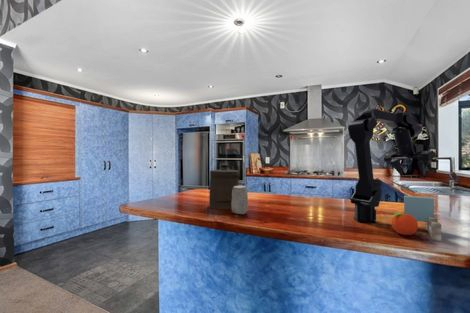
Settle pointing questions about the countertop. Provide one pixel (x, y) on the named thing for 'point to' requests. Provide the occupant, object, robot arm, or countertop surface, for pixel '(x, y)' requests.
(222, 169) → the wooden container
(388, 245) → the countertop surface
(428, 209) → the teal slotted plate
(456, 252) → the countertop surface
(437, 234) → the birch slotted plate
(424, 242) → the countertop surface
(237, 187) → the carving
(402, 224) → the clementine
